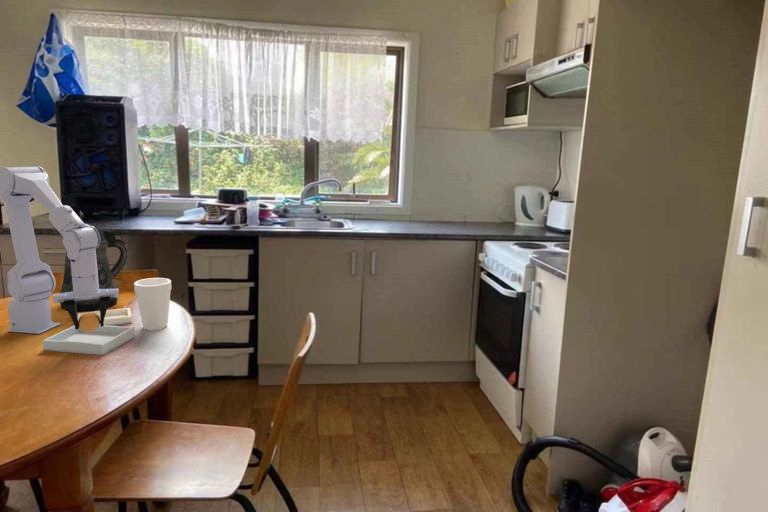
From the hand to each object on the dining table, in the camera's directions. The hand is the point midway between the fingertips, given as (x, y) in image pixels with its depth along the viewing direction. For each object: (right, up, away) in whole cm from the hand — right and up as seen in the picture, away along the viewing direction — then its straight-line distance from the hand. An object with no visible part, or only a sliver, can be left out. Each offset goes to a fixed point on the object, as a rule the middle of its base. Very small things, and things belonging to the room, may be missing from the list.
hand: (89, 326), depth 136 cm
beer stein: (-17, +3, +34) cm, 38 cm away
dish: (-5, -1, +17) cm, 18 cm away
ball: (0, +1, 0) cm, 1 cm away
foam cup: (+11, -2, +14) cm, 18 cm away
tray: (0, -4, +1) cm, 4 cm away
